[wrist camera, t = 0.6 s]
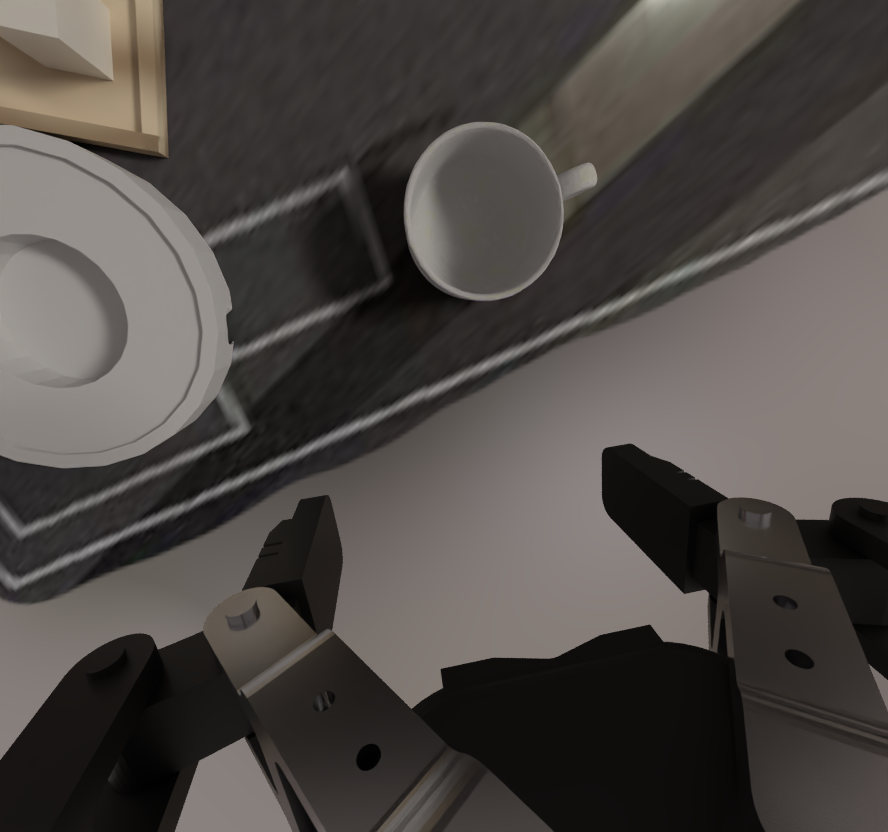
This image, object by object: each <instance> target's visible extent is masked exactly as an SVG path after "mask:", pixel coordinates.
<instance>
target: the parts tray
mask: <svg viewBox="0 0 888 832" xmlns="http://www.w3.org/2000/svg"><path fill="white" fill-rule="evenodd" d="M100 1H101V2H102V3H103V4H104V5H105V6H106V7H107V8H108V9H109V17H110V33H111V48H112V63H113V79H114V81H111V80H106V79H101V78H97V77H92V76H87V75H82V74H77V73H72V72H67V71H62V70H57V69H52V68H48V67H45V66H44V65H42V64H41V63H39V62H38V61H36V60H35V59H33V58H32V57H30V56H29V55H27V54H26V53H24V52H23V51H21V50H20V49H18V48H17V47H15V46H14V45H12V44H11V43H9V42H8V41H6V40H5V39H3V38H2V37H0V125H14V126H17V127H21V128H24V129H28V130H31V131H35V132H38V133H42V134H45V135H49V136H52V137H56V138H59V139H65V140H70V141H76V142H81V143H87V144H92V145H98V146H103V147H109V148H115V149H120V150H126V151H131V152H137V153H142V154H148V155H154V156H159V157H165V158H169V155H168V128H167V101H166V73H165V46H164V18H163V0H100Z"/></svg>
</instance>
